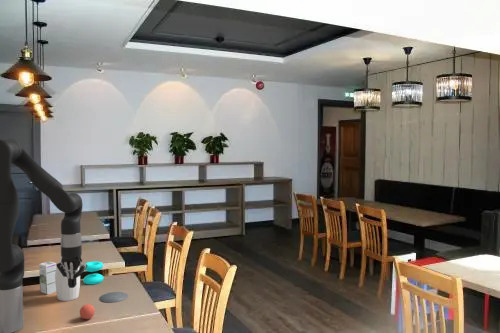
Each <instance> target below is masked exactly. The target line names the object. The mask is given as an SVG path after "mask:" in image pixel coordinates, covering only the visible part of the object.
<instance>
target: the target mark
mask: <svg viewBox="0 0 500 333" xmlns="http://www.w3.org/2000/svg"><path fill="white" fill-rule="evenodd" d="M128 297H129V295H128V293H126V292H122V291H114V292H107V293H104V294H102V295H101V296H99V297H98V300H99V301H100V302H102V303H108V304H110V303H111V304H112V303H118V302H119V303H120V302H122V301H125V300H126V299H127V298H128Z"/></svg>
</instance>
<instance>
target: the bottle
mask: <svg viewBox="0 0 500 333" xmlns="http://www.w3.org/2000/svg"><path fill="white" fill-rule="evenodd" d="M61 259H62V257H61V256H60V259H59V260H58V262H57V264H58V263H60V262H61ZM79 267H80V266H79ZM79 267H78V270H79ZM76 283H77V284H76V286H75V287H74V288H69V286H68V278H67V277H64V276H63V275H62V274H61V272H60V271H59V269H58V268H57V267H56V272H55V284H56V292H55V293H56V295H57V296H56V297H57V299H58V300H59V301H61V302H70V301H73V300H76V299H78V297H79V296H80V295H79V294H80V290H81V288H80V287H81V276H79V277H77V278H76Z"/></svg>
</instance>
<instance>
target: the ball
mask: <svg viewBox="0 0 500 333" xmlns="http://www.w3.org/2000/svg"><path fill="white" fill-rule="evenodd" d="M95 310H96V308H95V307H94V306H93V305H92V304H89V303H87V304H84V305H82V306H81V308H80V309H79V316H80V318H82V319H83V320H90V319H91V318H93V317H94V315H95Z"/></svg>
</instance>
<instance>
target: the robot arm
mask: <svg viewBox="0 0 500 333" xmlns="http://www.w3.org/2000/svg"><path fill="white" fill-rule="evenodd" d="M11 165H14V166H15V167H17V168H19V169H20V170H21V171H22V172H23V173H24V174H25V175H26V176H27V178H28V180H29V181H30V182H31V184H32V185H33V186H34V187H35V188H36V189H37V190H38V191H39V192H41V193H42V194H43V195H45V196H46V197H47V198H48V199H49V201H50V202H51V203H52V204H53V206H55V207H56V209H58V210H59V211H61V212H62V213H64V217H63V218H62V219H61V222H60V233H61V234H60V258H61V257H62V259H61V262H60V263H58V262H57V263H56V268H58V269H59V271H60V272H61V274H62V275H63V276H64V277H67V278H68V286H69V288H74V287H75V286H76V284H77V283H76V278H77V277H79V276H80V277H81V276H82V274H83V273H84V272H85V269H86V268H87V264H85V263H83V259H82V255H83V254H82V252H83V250H82V235H81V219H82V218H81V217H82V212H83V200H82V197H81V195H79V194H78V193H76V192H69V193H67V192H66V191H65V189H63V187H64V186H63V184H62V183H61V182H60V181H59V180H57V179H56V177H54V176H52V175H51V174H50V173H49V172H48V171H47V170H45V169H44V168H43V167H42V166H41V165H40V164H39V163H38V162H36V160H35V159H34V158H33V157H32V156H31V155H30V154H29V153H28V152H27V150H25V148H24V147H23V146H22V145H21V144H20V143H19V142H18V141H16V140H14V139H12V138H0V333H15V332H18V331H20V330H22V329H23V328H24V323H25V322H24V302H23V301H24V299H23V298H24V297H23V295H24V294H23V279H24V278H25V277H24V275H25V254H24V250H23V249H22V248H21V247H20V246H19V245H17V244H13V234H14V230H15V227H16V225H17V221H18V218H19V214H20V199H19V194H18V190H17V188H16V186H15V183H14V181H13V179H12V171H11V170H12V167H11ZM78 267H79V270H78Z"/></svg>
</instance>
